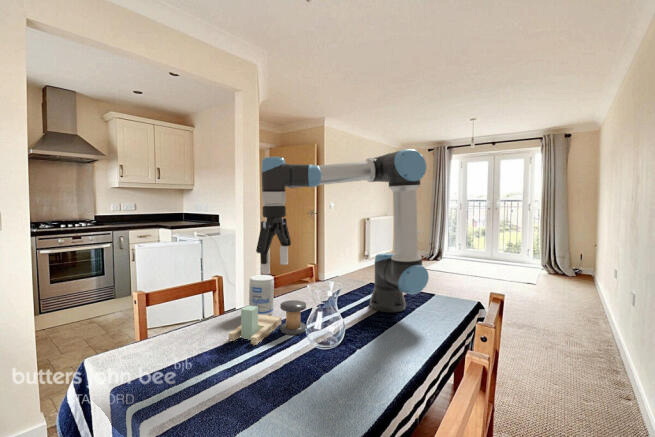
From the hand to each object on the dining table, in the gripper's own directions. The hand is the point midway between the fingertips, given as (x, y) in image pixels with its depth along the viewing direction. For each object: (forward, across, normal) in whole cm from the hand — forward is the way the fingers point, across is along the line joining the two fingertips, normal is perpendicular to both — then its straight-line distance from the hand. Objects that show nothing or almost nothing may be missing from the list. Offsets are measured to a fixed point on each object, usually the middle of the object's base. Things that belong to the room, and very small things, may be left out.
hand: (275, 268), depth 105 cm
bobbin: (+23, -6, +4) cm, 24 cm away
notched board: (+22, 0, -8) cm, 24 cm away
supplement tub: (+23, -16, -14) cm, 31 cm away
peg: (+22, +5, -8) cm, 24 cm away
